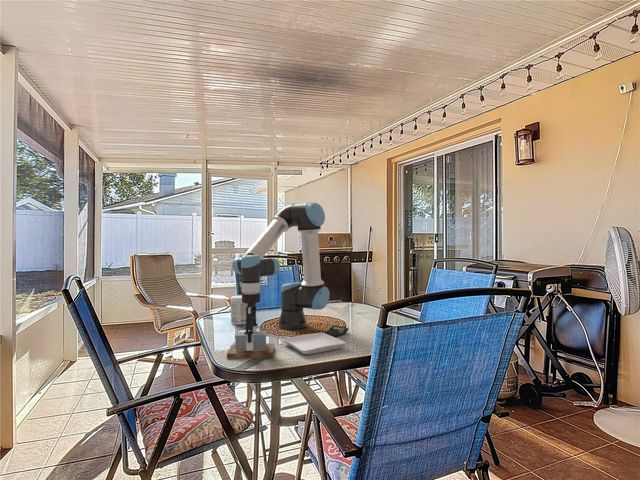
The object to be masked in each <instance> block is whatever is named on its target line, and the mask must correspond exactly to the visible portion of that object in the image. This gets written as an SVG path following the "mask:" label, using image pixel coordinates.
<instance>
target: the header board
mask: <svg viewBox="0 0 640 480" xmlns="http://www.w3.org/2000/svg"><path fill="white" fill-rule="evenodd" d="M274 352H275V343H266V349H265V350H251V351H246V350H236V351H235V344H231V345H230V347H229V349H228V351H227V353H226V359H227V358H234V359H260V358H274Z"/></svg>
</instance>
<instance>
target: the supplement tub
mask: <svg viewBox="0 0 640 480" xmlns="http://www.w3.org/2000/svg"><path fill="white" fill-rule="evenodd" d="M247 305H248V304H247V303H242V294H241V295H233V296H230V323H231V324H232V325H237V326H241V325H246V308H247Z"/></svg>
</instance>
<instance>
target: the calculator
mask: <svg viewBox="0 0 640 480" xmlns="http://www.w3.org/2000/svg"><path fill="white" fill-rule="evenodd" d="M348 331H349V328H348V327H344V326H339V325H335V324H333V325H331V327H330V328H329V329H328V330H326V331H324V332H322V333H325V334H328V335H330V336H333V337H335V338H337V339H338V338H339V337H341V336H344V335H345V334H346V333H347V332H348Z"/></svg>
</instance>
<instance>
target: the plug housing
mask: <svg viewBox="0 0 640 480" xmlns="http://www.w3.org/2000/svg"><path fill="white" fill-rule="evenodd" d="M244 332H245V331H237V332H236V333H235V335H234V336H235V337H234V338H235V339H234V341H235V344H234V345H235V351H236V350H246V335H244ZM266 344H267V331H266V330H264V331H256V332H253V350H265V349H266Z"/></svg>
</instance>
